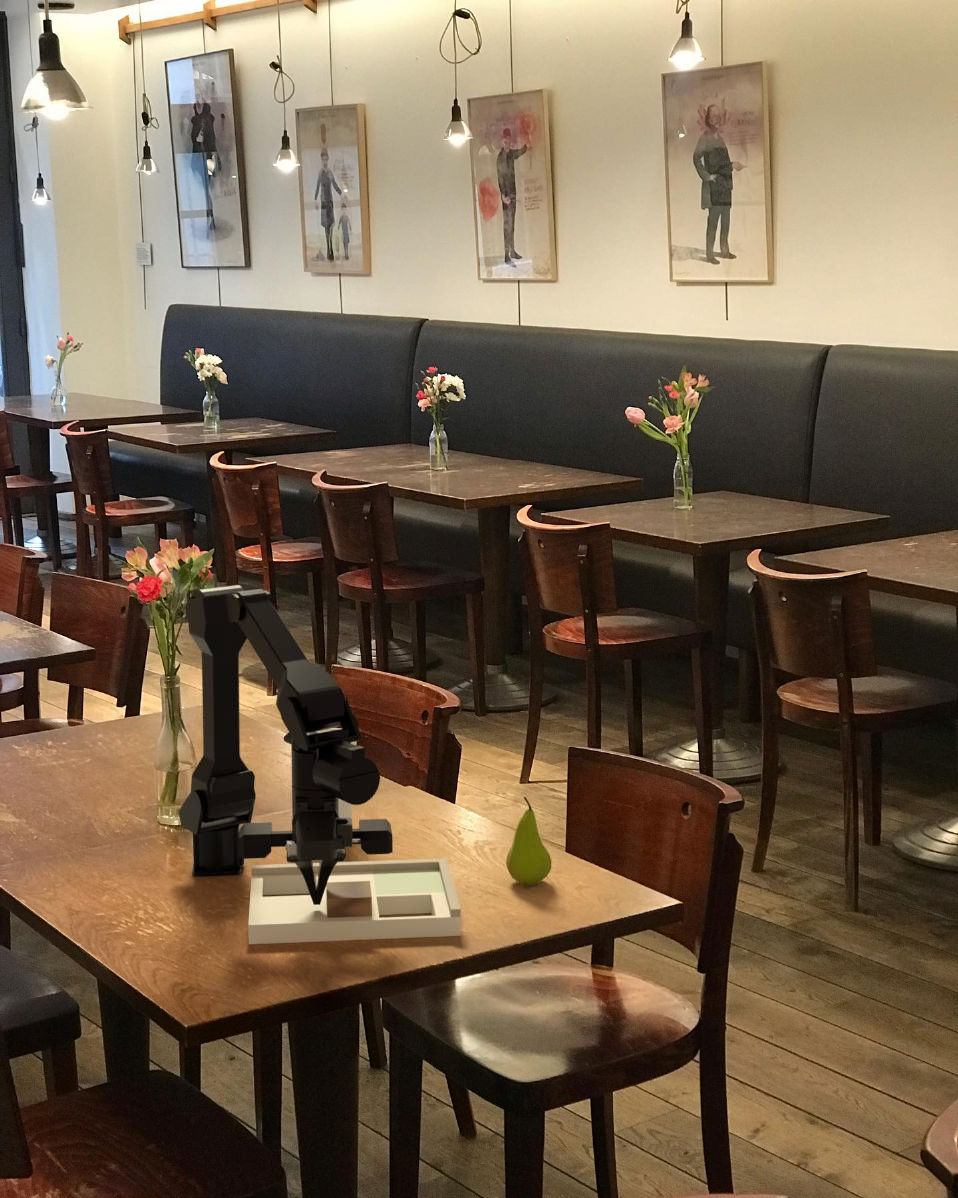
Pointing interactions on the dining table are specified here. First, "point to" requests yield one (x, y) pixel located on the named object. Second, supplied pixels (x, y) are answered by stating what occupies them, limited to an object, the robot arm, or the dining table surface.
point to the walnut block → (348, 899)
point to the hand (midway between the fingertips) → (316, 903)
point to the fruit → (528, 852)
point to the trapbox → (392, 893)
